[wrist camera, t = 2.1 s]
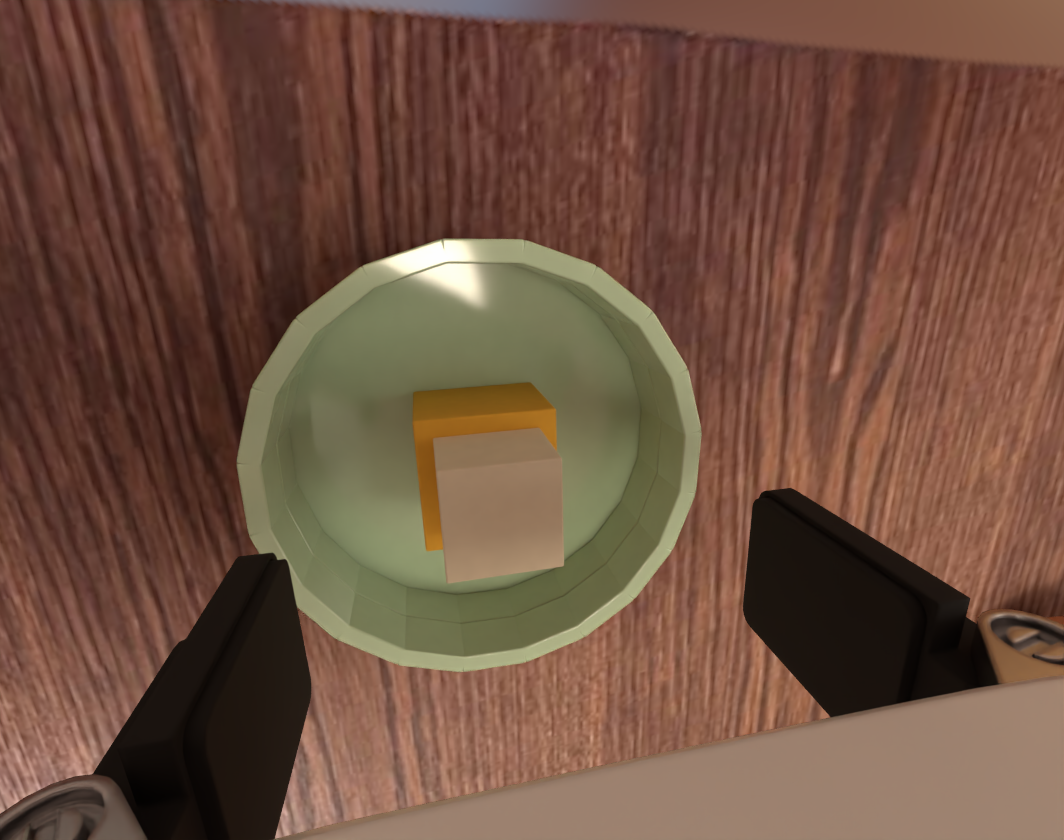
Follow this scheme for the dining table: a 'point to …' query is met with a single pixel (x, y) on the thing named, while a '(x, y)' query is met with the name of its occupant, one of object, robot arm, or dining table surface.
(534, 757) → the dining table surface
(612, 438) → the bowl
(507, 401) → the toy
